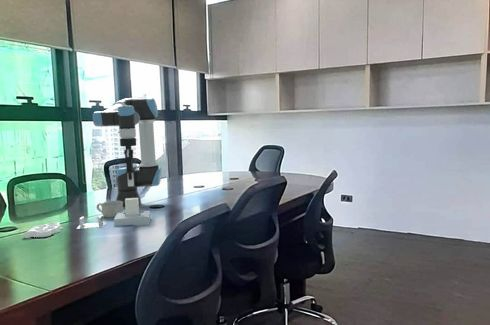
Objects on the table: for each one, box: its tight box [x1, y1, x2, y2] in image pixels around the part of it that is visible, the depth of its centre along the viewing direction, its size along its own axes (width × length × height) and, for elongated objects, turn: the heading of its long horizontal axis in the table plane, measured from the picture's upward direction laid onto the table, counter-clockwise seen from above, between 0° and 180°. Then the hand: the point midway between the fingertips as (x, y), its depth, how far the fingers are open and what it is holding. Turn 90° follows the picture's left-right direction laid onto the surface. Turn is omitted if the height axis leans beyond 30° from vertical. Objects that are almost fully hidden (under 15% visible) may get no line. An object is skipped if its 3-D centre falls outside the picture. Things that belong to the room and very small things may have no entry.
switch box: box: [113, 210, 151, 227], centre depth 195 cm, size 14×16×4 cm
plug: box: [124, 198, 140, 216], centre depth 195 cm, size 4×6×12 cm, turn 101°
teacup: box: [96, 200, 124, 219], centre depth 209 cm, size 14×11×8 cm
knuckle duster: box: [22, 222, 64, 239], centre depth 180 cm, size 3×18×15 cm
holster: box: [76, 214, 107, 230], centre depth 190 cm, size 10×12×5 cm
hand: (131, 186), depth 194 cm, fingers closed
